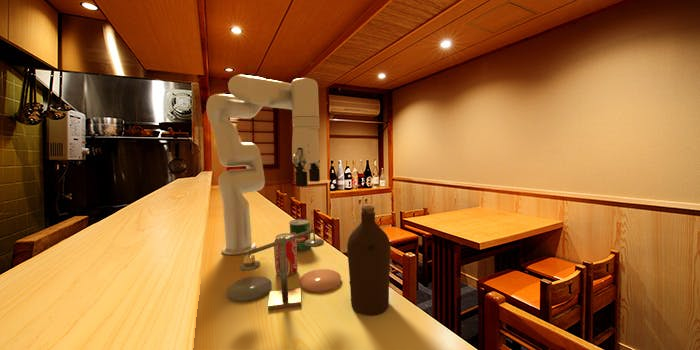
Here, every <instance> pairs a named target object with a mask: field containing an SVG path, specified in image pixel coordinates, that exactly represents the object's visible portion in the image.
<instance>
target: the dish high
mask: <svg viewBox="0 0 700 350" xmlns="http://www.w3.org/2000/svg"><path fill="white" fill-rule="evenodd" d="M341 282H342V278H341V274H340V273H339V272H338V271H336V270H334V269H333V270H332V269H329V268H319V269H318V268H317V269H315V270H314V269H313V270H310V271H307V272H306V273H304V274H303V275H302V276H301V277H300V278H299V286H300V288H301V287H302V289H303V291H306V290H307V292H309V291H310V293H326V292H329V291H333V290H335V289H336V288H338V287H339V286H340V284H341Z"/></svg>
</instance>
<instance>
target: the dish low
mask: <svg viewBox="0 0 700 350" xmlns="http://www.w3.org/2000/svg"><path fill="white" fill-rule="evenodd" d="M272 287H273V285H272V280H271V279H270V278H268V277H265V276H249V277H248V276H247V277H244V278H242V279H238V280H236V281H234V282H232V283H231V284H229V286H228V287H227V288H226V290H225V291H226V297H227V299H228V300H230V301H232V302H235V303H236V302H237V303H247V302H252V301H256V300H258V299H261V298H263V297H265V296H266V295H268V294H270V292H271V291H272V289H273V288H272ZM270 290H271V291H270ZM267 293H268V294H267Z"/></svg>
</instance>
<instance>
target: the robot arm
mask: <svg viewBox="0 0 700 350" xmlns="http://www.w3.org/2000/svg"><path fill="white" fill-rule="evenodd" d="M227 86H228V91H229V92H230V94H226V93H215V94H212V95H211V96H209V98H207V101H206V106H205V107H206V116H207V118H208V119H207V120H208V122H209V124H210V126H211V128H212V131H213V134H214V139H215V146H216V152H217V156H218V161H219V164H220V165H221V166H222V167H226V168H231V167H232V168H233V167H245V169H243V168H242V169H241V168H239V169H230V170H227V171H224V172H222V173H220V175H219V177H218V180H217V182H218V188H219V191H220V195H221V201H222V208H223V223H224V235H225V238H224V239H225V245H224V246H223V247H222V248H221V251H222V254H224V255H228V256H237V255H243V254H248V251H250V250H253V249H256V248H257V243H256V242H254V241H252V225H251V224H252V223H251V212H250V211H251V209H250V203H249V201H248V200H247V199H246V198H245V196H244V194H248V193H254V192H259V191H261V190H263V188H264V187H265V182H266V178H265V172H264V166H263V160H262V156H261V152H260V148H259V146H257V144H255V143H254V142H249V141H248V142H247V141H246V142H244V141H243V142H241V140H240V137H239V131H238V129H237V128H236V126H235V125H234V123H233V122H232V121H231V120H230V119H231V118H232V119H246V120H248V119H249V120H250V119H252V118H254V117H255V116H257V114H258V113H259V112H260V111H261V110H262V109H263V108H264V107H265V108H275V109H284V110H291V114H292V115H291V116H292V117H291V118H292V140H291V158H292V159H291V161H292V163H293V166H294V172H295V186H296V187H308V183H309V182H311V183H313V182H315V183H317V182H320V181H321V173H320V167H321V166H320V163H321V162H320V158H321V157H320V156H321V153H320V141H319V132H318V130H320V110H319V109H320V107H319V106H320V105H319V102H320V101H319V85H318V82H317V81H316V80H315V79H313V78H309V77H308V78H307V77H301V78H295V79H293V80H292V81H291V83H290V82H284V81H279V80H274V79H266V78H264V77H260V76H253V75H246V74H237V75H234V76H232V77H231V78H230V79H229V81H228V82H227ZM229 118H230V119H229ZM308 166H309V168H308V171H307V167H308ZM308 173H309V180H308ZM308 181H309V182H308Z"/></svg>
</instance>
